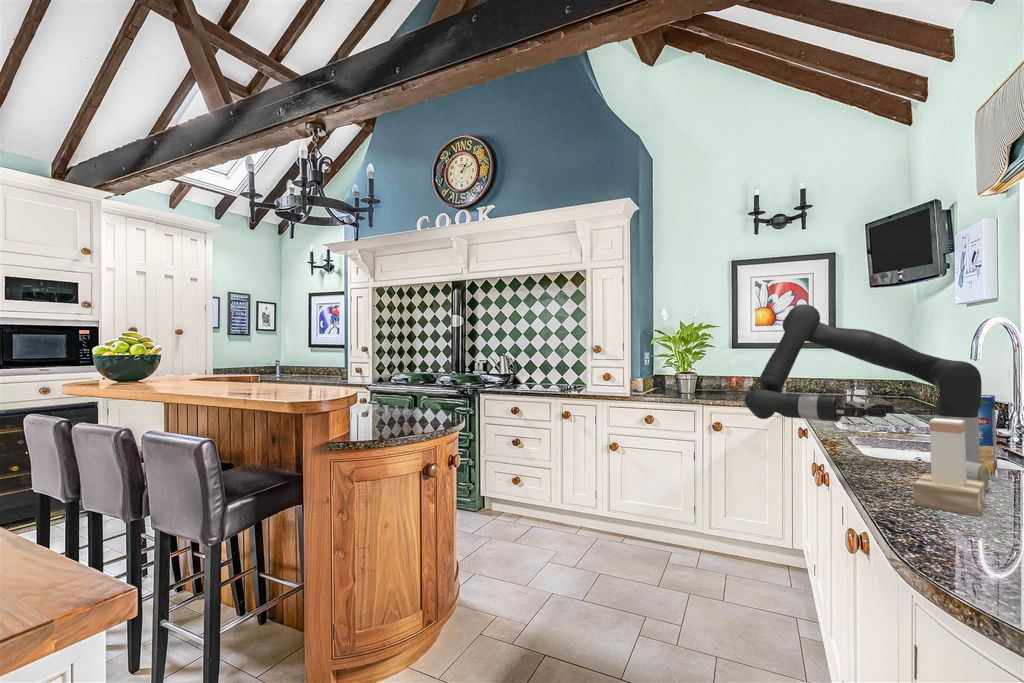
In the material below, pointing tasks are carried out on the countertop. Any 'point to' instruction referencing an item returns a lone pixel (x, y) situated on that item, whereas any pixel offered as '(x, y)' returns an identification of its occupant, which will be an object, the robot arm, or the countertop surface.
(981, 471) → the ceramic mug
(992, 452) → the blue pasta box
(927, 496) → the tan wooden block
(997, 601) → the countertop surface
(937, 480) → the carton
